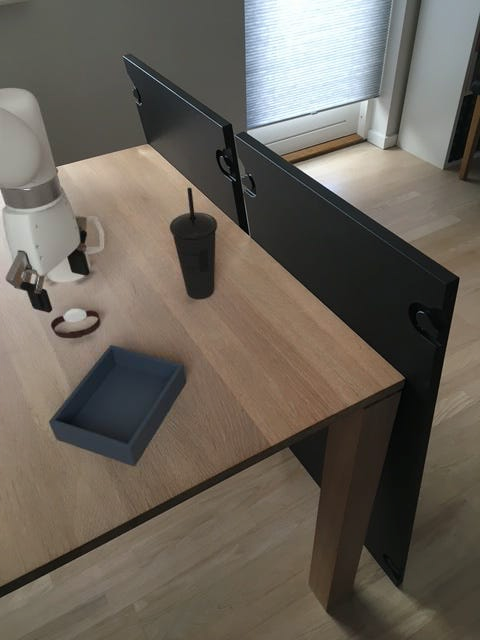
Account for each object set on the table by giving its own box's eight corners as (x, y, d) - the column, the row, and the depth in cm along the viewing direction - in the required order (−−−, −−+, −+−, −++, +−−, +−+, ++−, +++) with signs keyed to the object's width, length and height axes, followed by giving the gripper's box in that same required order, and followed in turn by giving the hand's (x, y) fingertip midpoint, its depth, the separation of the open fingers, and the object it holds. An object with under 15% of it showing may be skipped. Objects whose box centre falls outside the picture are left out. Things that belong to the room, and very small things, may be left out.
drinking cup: (228, 281, 97) (221, 180, 84) (212, 308, 92) (203, 204, 78) (189, 274, 99) (176, 174, 86) (172, 300, 94) (155, 197, 80)
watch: (100, 316, 91) (95, 299, 89) (103, 334, 88) (98, 317, 86) (54, 325, 90) (48, 309, 88) (55, 344, 87) (48, 328, 84)
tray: (134, 466, 69) (129, 449, 66) (56, 439, 73) (48, 421, 70) (186, 382, 79) (183, 364, 77) (115, 362, 83) (110, 344, 80)
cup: (113, 272, 101) (102, 226, 94) (48, 286, 98) (32, 240, 91) (107, 249, 106) (96, 204, 100) (45, 262, 104) (30, 216, 97)
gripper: (48, 159, 79) (75, 256, 90) (-38, 215, 67) (5, 320, 78) (91, 166, 77) (113, 265, 88) (10, 225, 65) (48, 331, 76)
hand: (62, 290), depth 83 cm, fingers open, 9 cm apart
